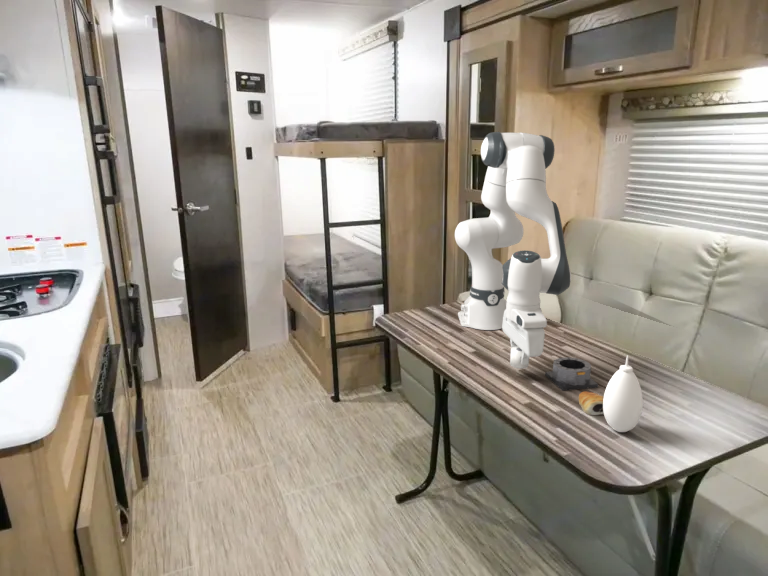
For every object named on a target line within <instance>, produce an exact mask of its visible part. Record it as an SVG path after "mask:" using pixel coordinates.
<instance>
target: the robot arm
mask: <svg viewBox="0 0 768 576" xmlns="http://www.w3.org/2000/svg"><path fill="white" fill-rule="evenodd" d="M555 149H556V148H555V143H554V141H553V139H552V138H550V137H548V136H546V135H542V134H539V135H538V134H534V133H533V134H532V133H527V132H501V131H493V132H489V133H488V134H486V135H485V136H484V139H483V140H482V143H481V145H480V157H481V162H482V163H483V164H484V165H485V166H487V169H486V172H485V176H484V182H483V186H482V190H481V195H480V200H481V203H482V204H483V205H484V207H485V208H487V209H488V210H490V214H489V216H488V217H487V216H486V217H478V218H477V217H476V218H475V217H474V218H469V219H466V220H463V221H460V222H459V223H458V224H457V226H456V227H455V230H454V240H455V242H456V245H457V246H458V247H459V248H460V249H461V250H462V251H464V252H465V253H466V255H467V257H468V259H469V261H470V265H471V274H472V275H471V286H470V289H469V296H468V297H466V299H465V300H464V302H463V303H461V304H460V311H458V313H457V317H458V319H459V322H460V326H461V327H468V328H471V329H476V330H482V331H484V330H485V331H494V330H495V331H496V330H502V332H503V333H504V334H505V335H506V336H507V337H508V338H509V342H510V349H511V348H512V347H515V346H518V347H519V348H520V349H521V350H522V353H523V354H522V357H520V362H521V363H522V364H523V365H526V364H528V361H530V358H531V357H532V358H534V357H535V358H536V357H540V356H541V355H542V354H543V352H544V345H545V334H546V333H545V329H544V328H546V327H547V326H548V324H547V323H548V321H547V318H546V317H545V315H544V313H543V311H542V308H541V297H540V294H541V293H543V294H549V295H556V296H559V295H561V294H562V293H564V292H566V291H567V290H568V289H569V288H570V285H571V282H572V272H571V268H570V265H569V261H568V255H567V249H566V245H565V237H564V230H563V225H562V219H561V214H560V211H559V207H558V205H557V202H555V201H553V200H551V198H550V197H549V195H548V192H547V175H546V173H547V172H546V169H547V168H549V167H550V166H551V164H552V162H553V161H554V158H555ZM516 214H518V215H519V216H521V217H524V218H527V219H528V220H532V221H534V222H536V223H538V224H539V225H540V226H542V227H543V228H544V229H545V232H546V234H547V242H548V249H549V253H550V254H549V255H550V256H549V257H548V258H542V256H541V254H539V253H537V252H536V251H532V250H517V251H515V252H513V253H512V255H511V258H509V259H507V260H506V261H505V262H504V264H502V262H501V261H500V260H498V259H496V258H494V256H493V253H492V250H493V249H501V248H508V247H511V246H514V245H517V244H519V243H520V242H521V241H522V239H523V237H524V231H525V230H524V226H523V223H522V222H521V220H520V219H519V218H518V216H516ZM505 289H506V290H507V291H508V293H507V296H506V299H505V293H506V292H505Z"/></svg>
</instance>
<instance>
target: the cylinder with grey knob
mask: <svg viewBox="0 0 768 576" xmlns="http://www.w3.org/2000/svg"><path fill="white" fill-rule="evenodd" d="M522 354H523V353H522V350H521V349H520V348H519V347H518V346H515V347H512V348H511V347H510V355H509V356H510V357H509V358H510V359H509V365H510V366H511V367H513V368H515V369H526V368H528V367H529V363H530V362H529V361H530V360H529V361H528V364H526V365H523V364H522V363H521V362H520V357H522Z"/></svg>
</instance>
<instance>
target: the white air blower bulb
mask: <svg viewBox="0 0 768 576" xmlns="http://www.w3.org/2000/svg"><path fill="white" fill-rule="evenodd" d="M603 397H604V398H603V412H604V414H603V415H604V418H605V421H606V422H607V424H608V426H610V427H611V429H613V430H614V431H616V432H617V433H626V432H628V431H630V430H631V431H632V430H634V429H635V428H636V426H637V425H638V423H639V422H640V419H641V416H642V413H643V407H644V405H643V403H644V400H643V392H642V388H641V384H640V382H639V379H638V376H637V375H636V373H635V371H634V368H633V367H632V366H631V365H629V355H626V358H625V364H620V366H619V369H618V370H616V372H615V373H614V374H613V375H612V377H611V378H610V379H609V381H608V383H607V385H606V388H605V391H604V393H603Z"/></svg>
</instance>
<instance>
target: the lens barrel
mask: <svg viewBox="0 0 768 576" xmlns="http://www.w3.org/2000/svg"><path fill="white" fill-rule="evenodd" d="M591 371H592V365H591V363H589V362H588V361H587V360H585V359H581V358H578V357H569V356H568V357H567V356H566V357H559V358H556V359H554V360H553V364H552V370H551V371H545V377H546V378H548V379H549V380H550V381H551V382H552V383H553V384H554V385H555V386H557V387H558V388H559V389H560V390H561V391H572V390H573V391H575V390H583V389H585V390H586V389H596V388H598V387H599V383H597V382H596V381H595V380H594V379H593V378H591Z"/></svg>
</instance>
